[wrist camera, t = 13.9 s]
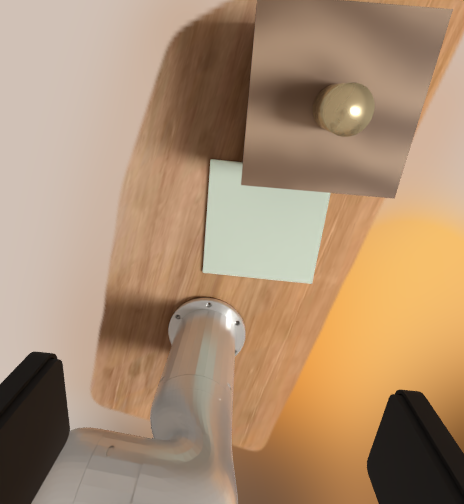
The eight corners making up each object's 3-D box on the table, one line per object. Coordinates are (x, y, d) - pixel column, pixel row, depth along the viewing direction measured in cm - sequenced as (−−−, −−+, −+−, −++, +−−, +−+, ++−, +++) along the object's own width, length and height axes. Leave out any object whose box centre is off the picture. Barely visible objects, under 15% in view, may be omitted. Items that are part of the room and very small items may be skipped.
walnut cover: (362, 175, 43) (416, 214, 30) (242, 164, 44) (239, 199, 30) (399, 30, 36) (493, -8, 22) (255, 19, 36) (259, -27, 22)
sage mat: (311, 282, 50) (311, 283, 49) (203, 271, 50) (202, 272, 49) (334, 171, 44) (334, 172, 43) (210, 159, 44) (210, 159, 44)
